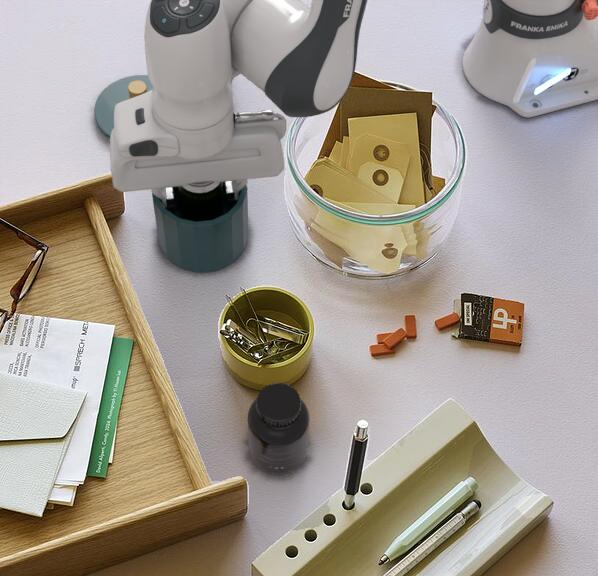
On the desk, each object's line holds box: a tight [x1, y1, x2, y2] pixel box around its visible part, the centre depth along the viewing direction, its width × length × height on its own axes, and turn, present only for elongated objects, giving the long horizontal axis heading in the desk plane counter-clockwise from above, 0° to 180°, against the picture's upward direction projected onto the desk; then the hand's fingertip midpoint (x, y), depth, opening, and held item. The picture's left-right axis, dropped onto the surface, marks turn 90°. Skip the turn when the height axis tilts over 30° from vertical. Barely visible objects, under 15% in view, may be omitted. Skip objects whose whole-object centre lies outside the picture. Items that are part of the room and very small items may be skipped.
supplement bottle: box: [246, 381, 310, 475], centre depth 116 cm, size 7×7×12 cm
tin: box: [151, 181, 249, 273], centre depth 130 cm, size 11×11×10 cm
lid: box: [94, 74, 153, 139], centre depth 141 cm, size 12×12×5 cm
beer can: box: [178, 181, 224, 222], centre depth 129 cm, size 5×5×12 cm
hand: (200, 199), depth 128 cm, fingers open, 6 cm apart
